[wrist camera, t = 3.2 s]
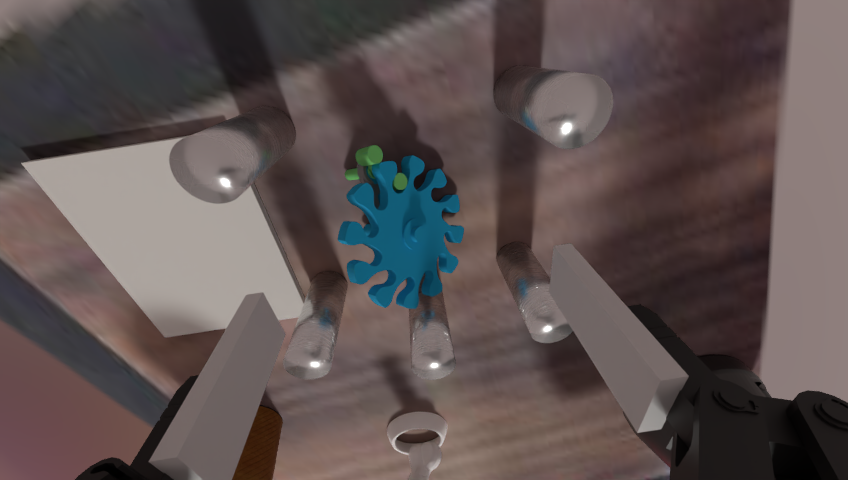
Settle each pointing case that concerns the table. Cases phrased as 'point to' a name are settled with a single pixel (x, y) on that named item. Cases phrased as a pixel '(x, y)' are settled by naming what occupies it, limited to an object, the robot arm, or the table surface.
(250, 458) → the disposable coffee cup
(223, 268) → the rubber mat
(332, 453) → the table surface
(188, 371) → the table surface
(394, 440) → the hook
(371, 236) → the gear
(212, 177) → the spacer posts
